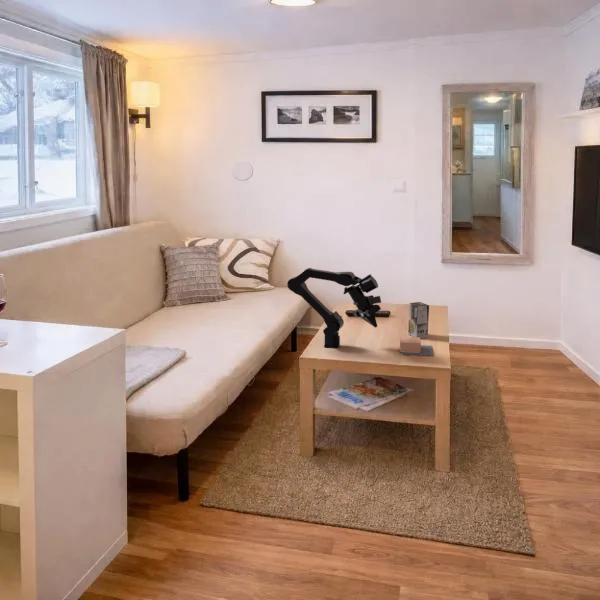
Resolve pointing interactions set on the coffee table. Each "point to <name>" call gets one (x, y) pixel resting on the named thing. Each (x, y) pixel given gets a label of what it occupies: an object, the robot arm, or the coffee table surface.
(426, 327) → the coffee box
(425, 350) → the mat
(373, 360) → the coffee table surface
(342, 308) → the coffee table surface
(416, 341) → the pinkish brown block
